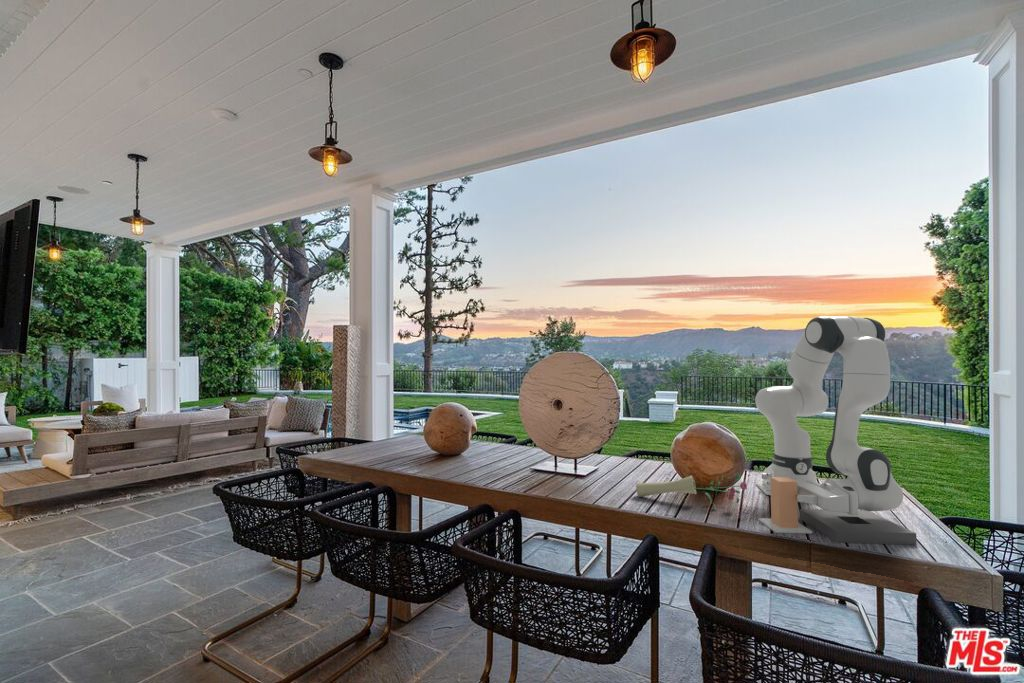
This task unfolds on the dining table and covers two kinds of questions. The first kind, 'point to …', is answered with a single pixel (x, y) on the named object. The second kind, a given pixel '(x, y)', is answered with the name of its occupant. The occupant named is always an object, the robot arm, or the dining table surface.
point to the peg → (784, 502)
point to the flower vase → (684, 488)
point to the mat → (784, 529)
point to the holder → (857, 527)
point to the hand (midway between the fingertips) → (787, 493)
